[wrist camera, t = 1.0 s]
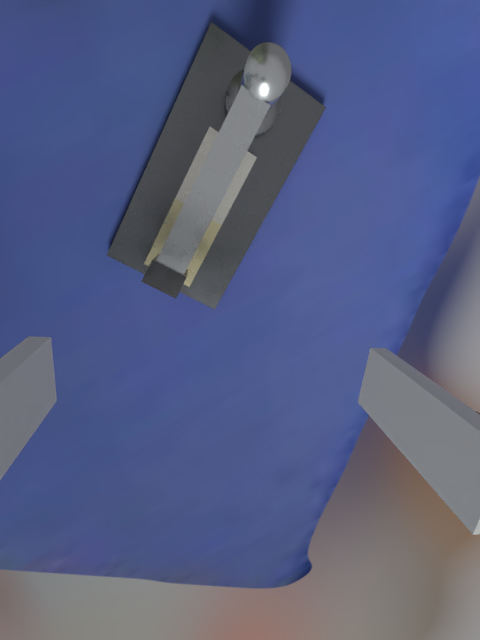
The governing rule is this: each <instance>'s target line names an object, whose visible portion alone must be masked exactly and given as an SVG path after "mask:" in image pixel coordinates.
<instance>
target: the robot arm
mask: <svg viewBox="0 0 480 640" xmlns="http://www.w3.org/2000/svg"><path fill="white" fill-rule="evenodd" d="M56 401H57V399H56V388H55V377H54V366H53V355H52V344H51V337H28V338H26V339H25V340H24V341H22V342H21V343H20V344H18V345H17V346H16V347H14V348H13V349H12V350H11V351H9V352H8V353H7V354H5V355H4V356H3V357H1V358H0V480H1V478H2V477H3V475H4V474H5V473H6V471H7V470H8V468H9V467H10V466H11V464H12V463H13V461H14V460H15V459H16V457H17V456H18V454H19V453H20V452H21V450H22V449H23V447H24V446H25V445H26V443H27V442H28V440H29V439H30V438H31V436H32V435H33V433H34V432H35V431H36V429H37V428H38V426H39V425H40V424H41V422H42V421H43V419H44V418H45V417H46V415H47V414H48V412H49V411H50V409H51V408H52V407H53V405H54V404H55V402H56ZM358 403H359V404H360V405H361V406H362V407H363V409H364V410H365V411H366V412H367V413H368V414H369V415H370V417H371V418H372V419H373V420H374V421H375V422H376V423H377V425H378V426H379V427H380V428H381V429H382V430H383V432H384V433H385V434H386V435H387V436H388V437H389V438H390V439H391V441H392V442H393V443H394V444H395V445H396V447H397V448H398V449H399V450H400V451H401V452H402V453H403V455H404V456H405V457H406V458H407V459H408V460H409V461H410V463H411V464H412V465H413V466H414V467H415V468H416V469H417V470H418V472H419V473H420V474H421V475H422V476H423V478H424V479H425V480H426V481H427V482H428V483H429V484H430V485H431V487H432V488H433V489H434V490H435V491H436V493H437V494H438V495H439V496H440V497H441V498H442V499H443V501H444V502H445V503H446V504H447V505H448V506H449V507H450V508H451V510H452V511H453V512H454V513H455V514H456V515H457V517H458V518H459V519H460V520H461V521H462V522H463V523H464V525H465V526H466V527H467V528H468V529H469V530H470V532H471V533H472V534H480V413H478V412H476V411H474V410H473V409H471V408H470V407H468V406H467V405H466V404H464V403H463V402H461V401H460V400H459V399H457V398H456V397H454V396H453V395H451V394H450V393H448V392H447V391H446V390H444V389H443V388H442V387H440V386H439V385H437V384H436V383H434V382H433V381H432V380H430V379H429V378H427V377H426V376H425V375H423V374H422V373H420V372H419V371H417V370H416V369H414V368H413V367H412V366H410V365H409V364H408V363H406V362H405V361H403V360H402V359H400V358H399V357H398V356H396V355H395V354H393V353H392V352H391V351H389V350H388V349H386V348H370V352H369V357H368V361H367V365H366V370H365V374H364V378H363V382H362V387H361V391H360V395H359V399H358Z"/></svg>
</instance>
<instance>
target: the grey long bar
mask: <svg viewBox="0 0 480 640" xmlns="http://www.w3.org/2000/svg"><path fill="white" fill-rule="evenodd" d="M290 78H291V63H290V59H289V57H288V55H287V53H286V52H285V51H284V49H283V48H282V47H280V46H279V45H277V44H275V43H271V42H265V43H262V44H259V45H257V46H256V47H255V48H254V49H253V50H252V51H251V52H250V54H249V56H248V58H247V61H246V65H245V68H244V72H243V75H242V78H241V82H240V85H239V88H238V92H237V96H236V98H235V100H234V102H233V104H232V106H231V108H230V110H229V112H228V114H227V116H226V119H225V121H224V123H223V125H222V127H221V129H220V131H219V133H218V135H217V137H216V139H215V141H214V143H213V145H212V147H211V149H210V151H209V153H208V156H207V158H206V160H205V162H204V164H203V166H202V168H201V170H200V172H199V174H198V176H197V178H196V180H195V182H194V184H193V186H192V188H191V190H190V193H189V195H188V197H187V199H186V201H185V203H184V205H183V207H182V209H181V211H180V213H179V215H178V217H177V219H176V221H175V223H174V225H173V227H172V229H171V232H170V234H169V236H168V238H167V240H166V242H165V244H164V246H163V248H162V250H161V252H160V254H158V255H157V256H156V257H155V258H154V259H152V261H151V263H150V266H149V268H148V270H147V272H146V274H145V276H144V278H143V280H142V282H144V283H146V284H148V285H150V286H152V287H154V288H156V289H158V290H160V291H162V292H164V293H166V294H168V295H170V296H172V297H174V298H176V297H177V295H178V293H179V291H180V289H181V287H182V285H183V284H184V282H185V280H186V278H187V274H188V269H187V267H188V265H189V264H190V262H191V260H192V258H193V256H194V254H195V252H196V250H197V248H198V246H199V244H200V242H201V240H202V238H203V236H204V234H205V232H206V230H207V228H208V226H209V224H210V223H211V221H212V219H213V217H214V215H215V213H216V211H217V209H218V207H219V205H220V203H221V201H222V199H223V197H224V195H225V193H226V191H227V189H228V187H229V185H230V184H231V182H232V180H233V178H234V176H235V174H236V172H237V170H238V168H239V166H240V164H241V162H242V160H243V158H244V156H245V154H246V152H247V150H248V148H249V146H250V145H251V143H252V141H253V139H254V137H255V135H256V133H257V131H258V129H259V127H260V125H261V123H262V121H263V119H264V118H265V117H266V116H267V115H268V114H269V113H270V111H271V110H272V108H273V107H274V105H275V104H276V102H277V101H278V99H279V98H280V96H281V95H282V93H283V92H284V90H285V89H286V87H287V86H288V84H289V81H290Z"/></svg>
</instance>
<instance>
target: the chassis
mask: <svg viewBox="0 0 480 640" xmlns="http://www.w3.org/2000/svg"><path fill="white" fill-rule="evenodd" d="M250 52H251V51H250V50H248V49H247V48H246V47H244V46H243V45H242V44H240V43H239V42H238V41H236V40H235V39H234V38H232V37H231V36H230V35H228V34H227V33H226V32H224V31H223V30H222V29H220V28H219V27H217V26H216V25H215V24H213V23H212V22H211V24H210V26H209V28H208V31H207V33H206V35H205V37H204V39H203V42H202V44H201V46H200V48H199V51H198V53H197V55H196V57H195V60H194V62H193V64H192V66H191V68H190V71H189V73H188V75H187V77H186V80H185V82H184V84H183V86H182V89H181V91H180V93H179V95H178V98H177V100H176V102H175V104H174V106H173V109H172V111H171V113H170V115H169V118H168V120H167V122H166V124H165V127H164V129H163V131H162V133H161V135H160V138H159V140H158V142H157V144H156V147H155V149H154V151H153V153H152V156H151V158H150V160H149V162H148V164H147V167H146V169H145V171H144V173H143V176H142V178H141V180H140V182H139V185H138V187H137V189H136V191H135V193H134V196H133V198H132V200H131V202H130V205H129V207H128V209H127V211H126V214H125V216H124V218H123V220H122V223H121V225H120V227H119V229H118V231H117V234H116V236H115V238H114V240H113V243H112V245H111V247H110V249H109V252H108V254H107V256H109V257H111V258H113V259H115V260H117V261H119V262H121V263H123V264H125V265H127V266H129V267H131V268H133V269H135V270H137V271H139V272H141V273H143V274H146V272H147V270H148V268H149V266H150V263H151V261H152V259H154V258H155V257H156V256H157V255H158V254H160V252H161V250H162V248H163V246H164V244H165V242H166V240H167V238H168V236H169V234H170V232H171V229H172V227H173V225H174V223H175V221H176V219H177V217H178V215H179V213H180V211H181V209H182V207H183V205H184V203H185V201H186V199H187V197H188V195H189V193H190V190H191V188H192V186H193V184H194V182H195V180H196V178H197V176H198V174H199V172H200V170H201V168H202V166H203V164H204V162H205V160H206V158H207V156H208V153H209V151H210V149H211V147H212V145H213V143H214V141H215V139H216V137H217V135H218V133H219V131H220V129H221V127H222V125H223V123H224V121H225V119H226V116H227V114H228V112H229V110H230V108H231V106H232V104H233V102H234V100H235V98H236V96H237V92H238V88H239V85H240V82H241V78H242V75H243V72H244V68H245V65H246V61H247V58H248V56H249V54H250ZM325 108H326V107H325V106H324V105H322V104H321V103H319V102H318V101H317V100H315V99H314V98H313V97H311V96H310V95H309V94H307V93H306V92H305V91H303V90H302V89H301V88H299V87H298V86H297V85H295V84H294V83H293V82H291V81H289V84H288V86H287V87H286V89H285V90H284V92H283V93H282V95H281V96H280V98H279V99H278V101H277V102H276V104H275V105H274V107H273V108H272V110H271V111H270V113H269V114H268V115H267V116H266V117H265V118H264V119H263V121H262V123H261V125H260V127H259V129H258V131H257V133H256V135H255V137H254V139H253V141H252V143H251V145H250V146H249V148H248V150H247V152H246V154H245V156H244V158H243V160H242V162H241V164H240V166H239V168H238V170H237V172H236V174H235V176H234V178H233V180H232V182H231V184H230V185H229V187H228V189H227V191H226V193H225V195H224V197H223V199H222V201H221V203H220V205H219V207H218V209H217V211H216V213H215V215H214V217H213V219H212V221H211V223H210V224H209V226H208V228H207V230H206V232H205V234H204V236H203V238H202V240H201V242H200V244H199V246H198V248H197V250H196V252H195V254H194V256H193V258H192V260H191V262H190V264H189V265H188V267H187V269H188V274H187V278H186V280H185V282H184V284H183V285H182V287H181V289H180V291H179V292H181V293H183V294H185V295H187V296H189V297H191V298H193V299H195V300H197V301H199V302H201V303H203V304H205V305H207V306H209V307H211V308H213V309H215V308H216V306H217V304H218V302H219V301H220V299H221V297H222V295H223V293H224V292H225V290H226V288H227V286H228V284H229V282H230V281H231V279H232V277H233V275H234V273H235V272H236V270H237V268H238V266H239V264H240V262H241V261H242V259H243V257H244V255H245V253H246V252H247V250H248V248H249V246H250V244H251V243H252V241H253V239H254V237H255V235H256V233H257V232H258V230H259V228H260V226H261V224H262V223H263V221H264V219H265V217H266V215H267V213H268V212H269V210H270V208H271V206H272V204H273V203H274V201H275V199H276V197H277V195H278V193H279V192H280V190H281V188H282V186H283V184H284V183H285V181H286V179H287V177H288V175H289V173H290V172H291V170H292V168H293V166H294V164H295V163H296V161H297V159H298V157H299V155H300V153H301V152H302V150H303V148H304V146H305V144H306V143H307V141H308V139H309V137H310V135H311V133H312V132H313V130H314V128H315V126H316V124H317V123H318V121H319V119H320V117H321V115H322V114H323V112H324V110H325Z"/></svg>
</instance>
